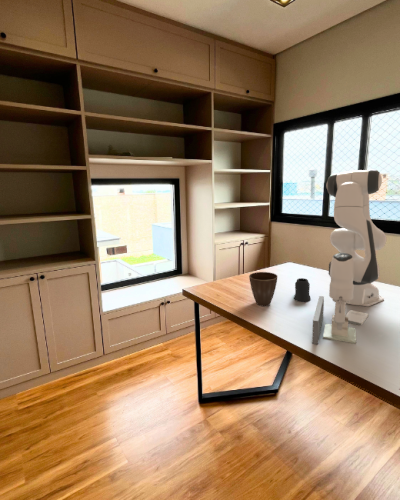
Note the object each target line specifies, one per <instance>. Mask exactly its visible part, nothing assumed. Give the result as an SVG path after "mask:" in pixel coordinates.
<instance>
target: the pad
mask: <svg viewBox="0 0 400 500" xmlns="http://www.w3.org/2000/svg"><path fill="white" fill-rule="evenodd" d="M331 330H332V324H331V323H330V324H329V323H328V324H327V323H325V324H324V329H323V335H322V338H323V339H328V340H332V341H340V342H345V343H351V344H356V343H357V336H356V328H355V327H350V326H348V335H347V336H341V335H334V334H331Z"/></svg>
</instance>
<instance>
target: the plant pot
mask: <svg viewBox="0 0 400 500" xmlns="http://www.w3.org/2000/svg"><path fill="white" fill-rule="evenodd" d="M248 277H249V284H250V289H251V292H252V295H253V298H254V302H255V304H256V305H257V306H260V307H268V306H270V305H271V303H272V301H273V299H274V294H275V292H276V288H277V287H276V286H277V284H278V283H277V282H278V275H277V274H276V273H274V272H268V271H267V272H266V271H259V272H258V271H257V272H252V273H250V274H249V275H248Z"/></svg>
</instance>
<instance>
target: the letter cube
mask: <svg viewBox="0 0 400 500" xmlns="http://www.w3.org/2000/svg"><path fill="white" fill-rule="evenodd" d="M331 316H332V317H331V325H332V330H331V334H334V335H341V336H347V335H348V327H349V322H348V317H345V323H344V324H342V330H338V329H337V323H335V314H332V315H331Z"/></svg>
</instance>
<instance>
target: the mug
mask: <svg viewBox="0 0 400 500" xmlns="http://www.w3.org/2000/svg"><path fill="white" fill-rule="evenodd" d="M294 284H295V285H294V286H295V287H294V289H295V293H294V295H293V300H294V301H296V302H299V303H300V302H301V303H309V302H310V301H312V299H311V296H310V288H311V287H310V282H309V279H307V278H301V277H300V278H297V279H296V282H295V283H294Z"/></svg>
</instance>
